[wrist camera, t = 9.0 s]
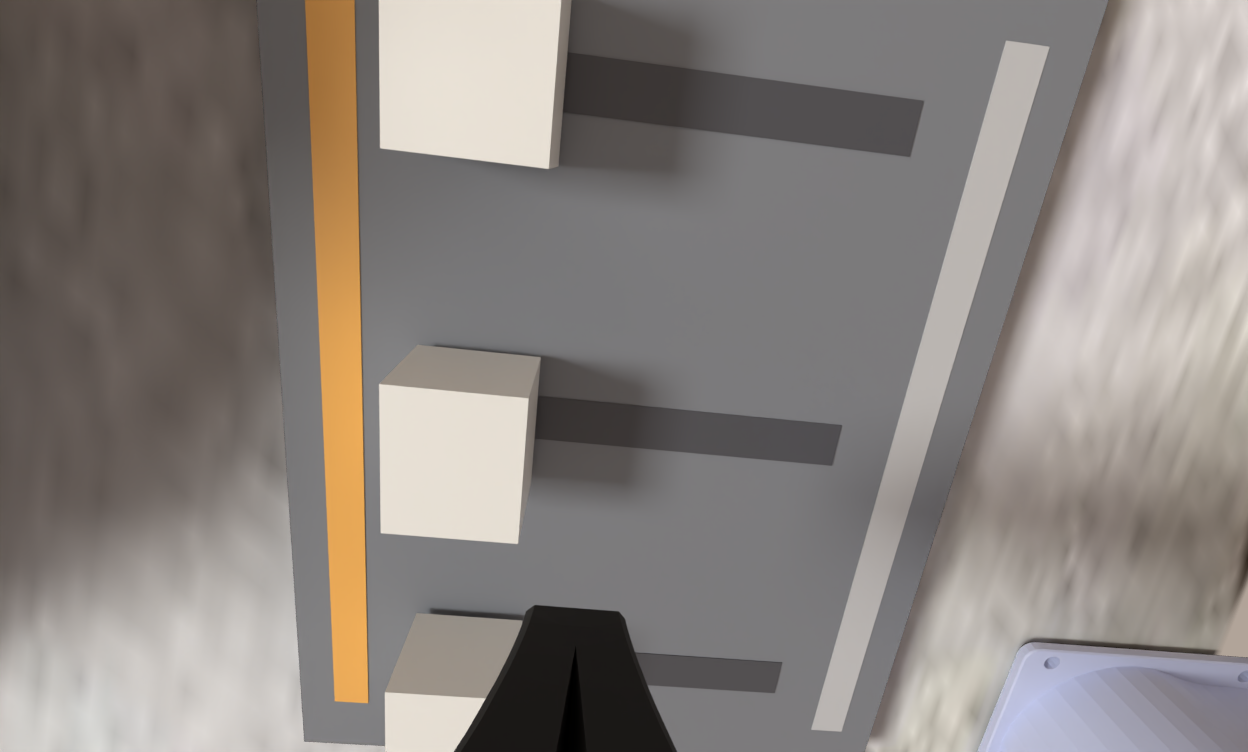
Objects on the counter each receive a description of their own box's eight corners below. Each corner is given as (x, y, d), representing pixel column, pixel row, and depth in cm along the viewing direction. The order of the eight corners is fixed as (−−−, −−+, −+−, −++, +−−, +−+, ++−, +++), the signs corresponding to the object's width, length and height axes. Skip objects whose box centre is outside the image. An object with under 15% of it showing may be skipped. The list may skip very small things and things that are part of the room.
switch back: (522, 620, 18) (509, 699, 15) (515, 713, 19) (501, 801, 17) (416, 612, 18) (384, 692, 15) (415, 707, 19) (385, 796, 16)
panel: (1070, -19, 15) (1121, -38, 13) (841, 733, 22) (858, 772, 21) (282, -140, 13) (243, -176, 12) (324, 702, 21) (303, 742, 20)
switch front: (572, -12, 13) (565, -55, 10) (558, 166, 14) (548, 168, 11) (424, -33, 13) (377, -83, 10) (421, 149, 14) (379, 147, 11)
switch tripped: (540, 357, 15) (528, 398, 13) (531, 482, 17) (518, 544, 14) (417, 344, 15) (379, 384, 13) (415, 472, 16) (380, 533, 14)
